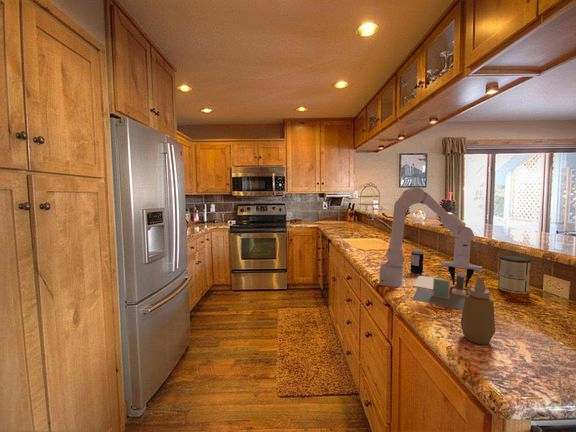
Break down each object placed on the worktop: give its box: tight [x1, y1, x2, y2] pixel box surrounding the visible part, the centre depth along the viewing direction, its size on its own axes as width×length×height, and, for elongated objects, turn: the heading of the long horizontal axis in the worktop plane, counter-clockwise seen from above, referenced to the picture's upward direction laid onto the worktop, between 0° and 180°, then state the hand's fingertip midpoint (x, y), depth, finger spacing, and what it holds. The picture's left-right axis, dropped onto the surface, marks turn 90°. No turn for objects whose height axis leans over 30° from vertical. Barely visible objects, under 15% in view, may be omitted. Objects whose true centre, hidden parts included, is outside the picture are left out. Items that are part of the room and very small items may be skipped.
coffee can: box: [497, 254, 532, 295], centre depth 117 cm, size 10×10×14 cm
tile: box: [432, 277, 451, 299], centre depth 108 cm, size 6×2×7 cm, turn 57°
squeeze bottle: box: [460, 276, 496, 345], centre depth 77 cm, size 8×8×18 cm
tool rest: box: [412, 275, 435, 291], centre depth 124 cm, size 8×17×1 cm, turn 147°
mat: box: [411, 287, 466, 311], centre depth 106 cm, size 19×15×1 cm
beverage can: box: [410, 249, 425, 276], centre depth 140 cm, size 6×6×12 cm
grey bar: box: [451, 271, 468, 297], centre depth 116 cm, size 5×15×6 cm, turn 147°
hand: (459, 285), depth 118 cm, fingers open, 4 cm apart
